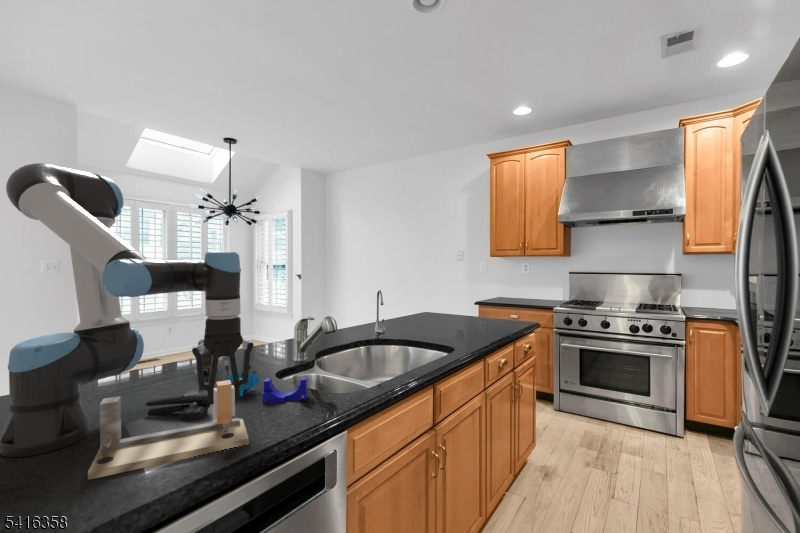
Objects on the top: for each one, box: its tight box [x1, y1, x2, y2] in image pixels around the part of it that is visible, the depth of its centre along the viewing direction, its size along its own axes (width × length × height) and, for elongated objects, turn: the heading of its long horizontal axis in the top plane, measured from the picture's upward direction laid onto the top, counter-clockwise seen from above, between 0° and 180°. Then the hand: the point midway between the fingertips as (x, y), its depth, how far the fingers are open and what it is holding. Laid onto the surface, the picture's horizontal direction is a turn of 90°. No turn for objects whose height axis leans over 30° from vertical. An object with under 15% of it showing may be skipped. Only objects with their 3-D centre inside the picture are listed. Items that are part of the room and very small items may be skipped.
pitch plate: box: [87, 396, 250, 481], centre depth 83 cm, size 28×12×12 cm, turn 118°
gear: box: [224, 371, 260, 398], centre depth 116 cm, size 11×6×10 cm
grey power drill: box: [197, 327, 212, 375], centre depth 141 cm, size 11×5×16 cm, turn 22°
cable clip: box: [261, 376, 308, 404], centre depth 112 cm, size 12×4×6 cm, turn 96°
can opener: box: [145, 393, 211, 421], centre depth 101 cm, size 18×7×6 cm, turn 83°
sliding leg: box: [215, 380, 233, 433], centre depth 88 cm, size 3×8×9 cm, turn 28°
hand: (224, 415), depth 90 cm, fingers closed on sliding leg, 3 cm apart
